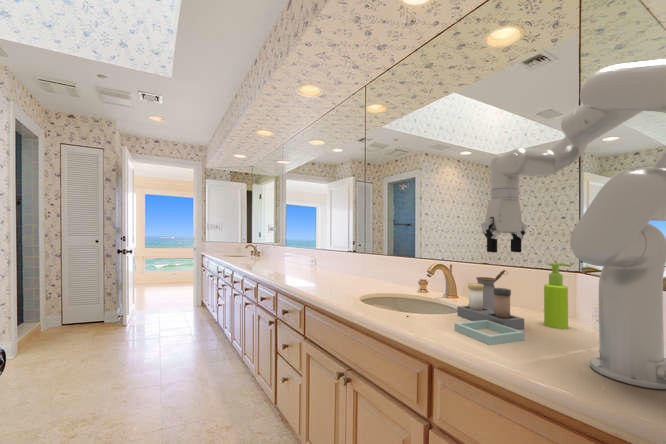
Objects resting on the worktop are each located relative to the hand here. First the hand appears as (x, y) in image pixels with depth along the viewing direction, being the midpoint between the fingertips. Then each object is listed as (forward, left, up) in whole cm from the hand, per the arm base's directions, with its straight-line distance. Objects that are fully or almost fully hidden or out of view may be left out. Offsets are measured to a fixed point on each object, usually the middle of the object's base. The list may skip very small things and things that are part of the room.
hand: (504, 252), depth 94 cm
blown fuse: (0, +1, -22) cm, 22 cm away
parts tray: (-5, +12, -23) cm, 27 cm away
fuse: (+10, +1, -22) cm, 24 cm away
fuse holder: (+5, +1, -23) cm, 24 cm away
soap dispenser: (-5, -16, -23) cm, 29 cm away
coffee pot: (+17, -14, -23) cm, 32 cm away
